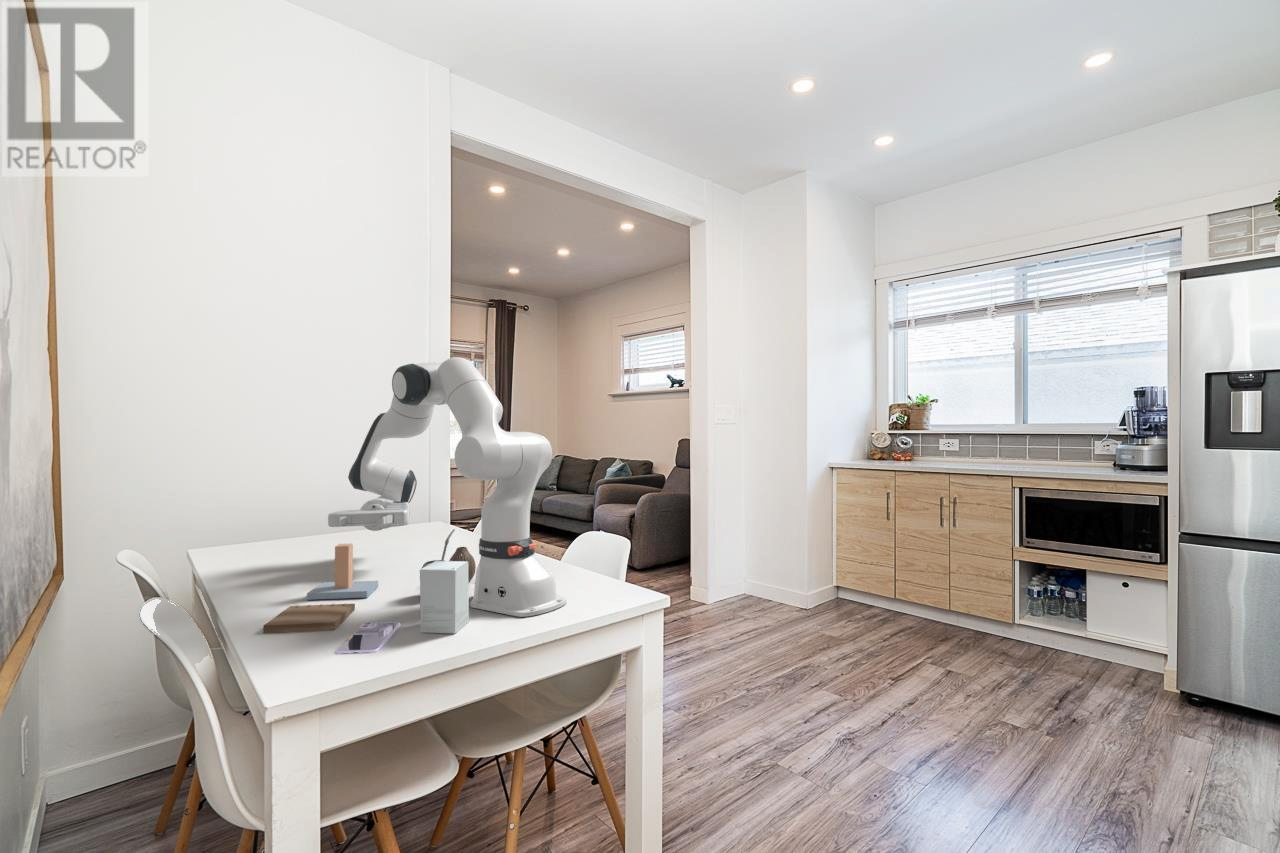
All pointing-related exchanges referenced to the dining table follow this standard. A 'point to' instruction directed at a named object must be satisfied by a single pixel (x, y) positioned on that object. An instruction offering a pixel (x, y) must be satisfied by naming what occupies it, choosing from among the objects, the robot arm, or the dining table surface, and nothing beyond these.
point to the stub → (343, 579)
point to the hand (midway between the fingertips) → (361, 522)
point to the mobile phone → (368, 638)
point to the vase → (464, 555)
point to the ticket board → (309, 618)
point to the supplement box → (444, 597)
